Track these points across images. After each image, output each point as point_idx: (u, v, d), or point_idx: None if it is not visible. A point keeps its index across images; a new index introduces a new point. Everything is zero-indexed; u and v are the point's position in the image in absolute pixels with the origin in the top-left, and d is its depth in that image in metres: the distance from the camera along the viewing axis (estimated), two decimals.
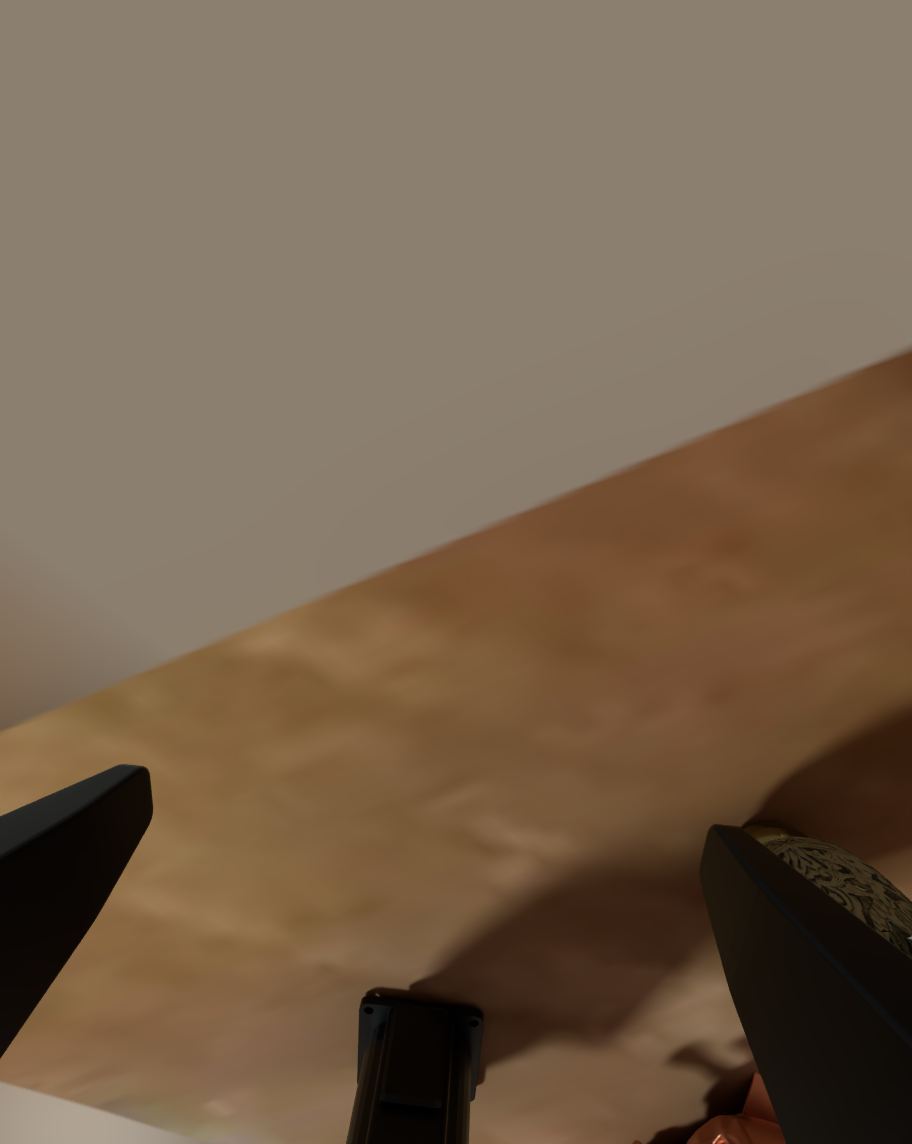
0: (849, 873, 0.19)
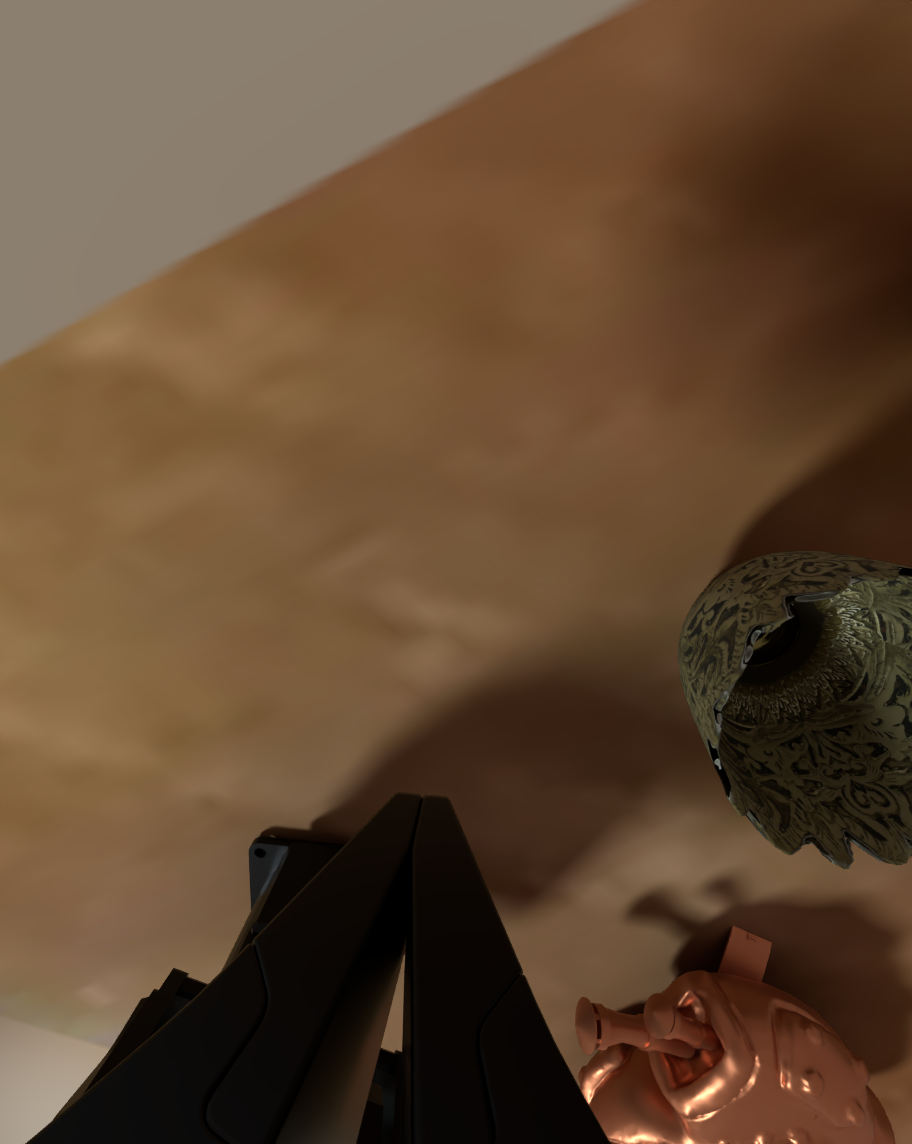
0: (842, 554, 0.14)
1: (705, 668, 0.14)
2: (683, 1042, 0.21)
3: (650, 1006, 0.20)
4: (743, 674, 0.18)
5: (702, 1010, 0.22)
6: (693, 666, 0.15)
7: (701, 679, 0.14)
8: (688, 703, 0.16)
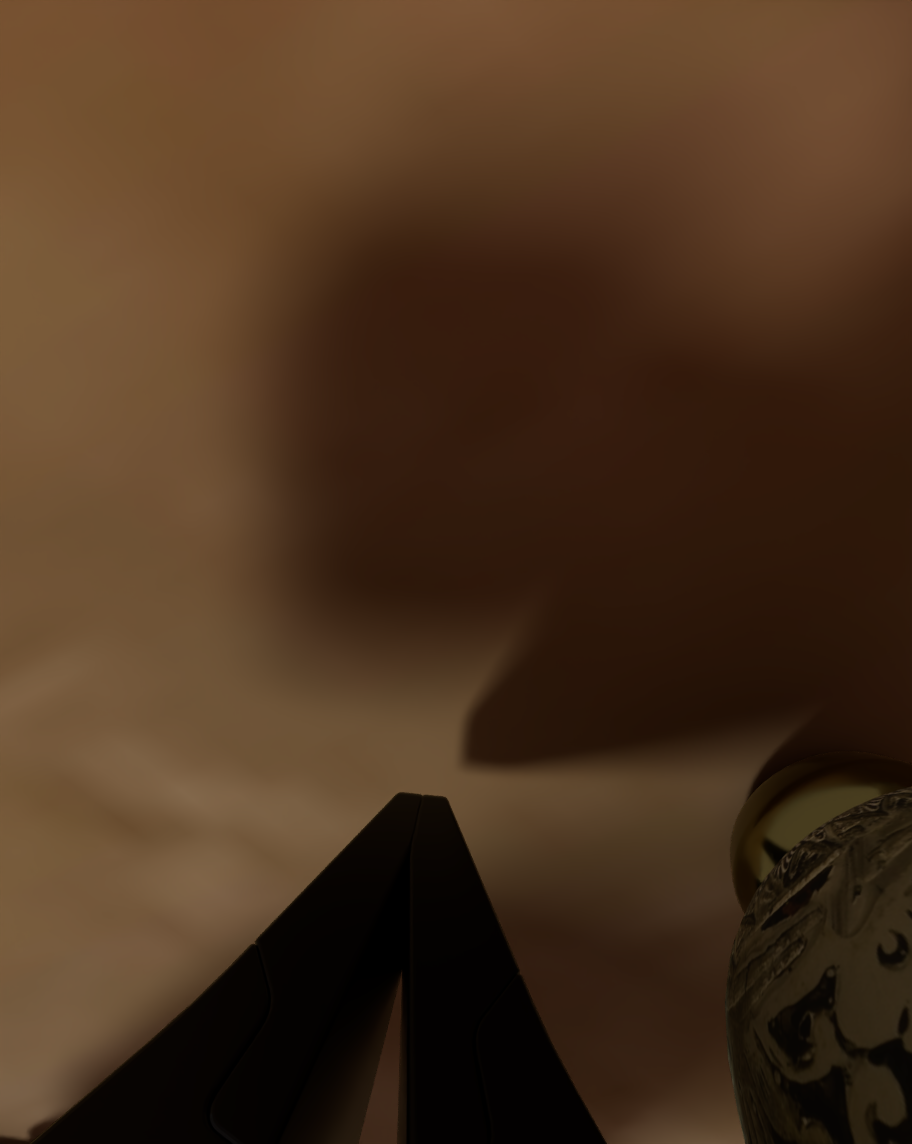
0: None
1: None
2: None
3: None
4: None
5: None
6: None
7: None
8: None
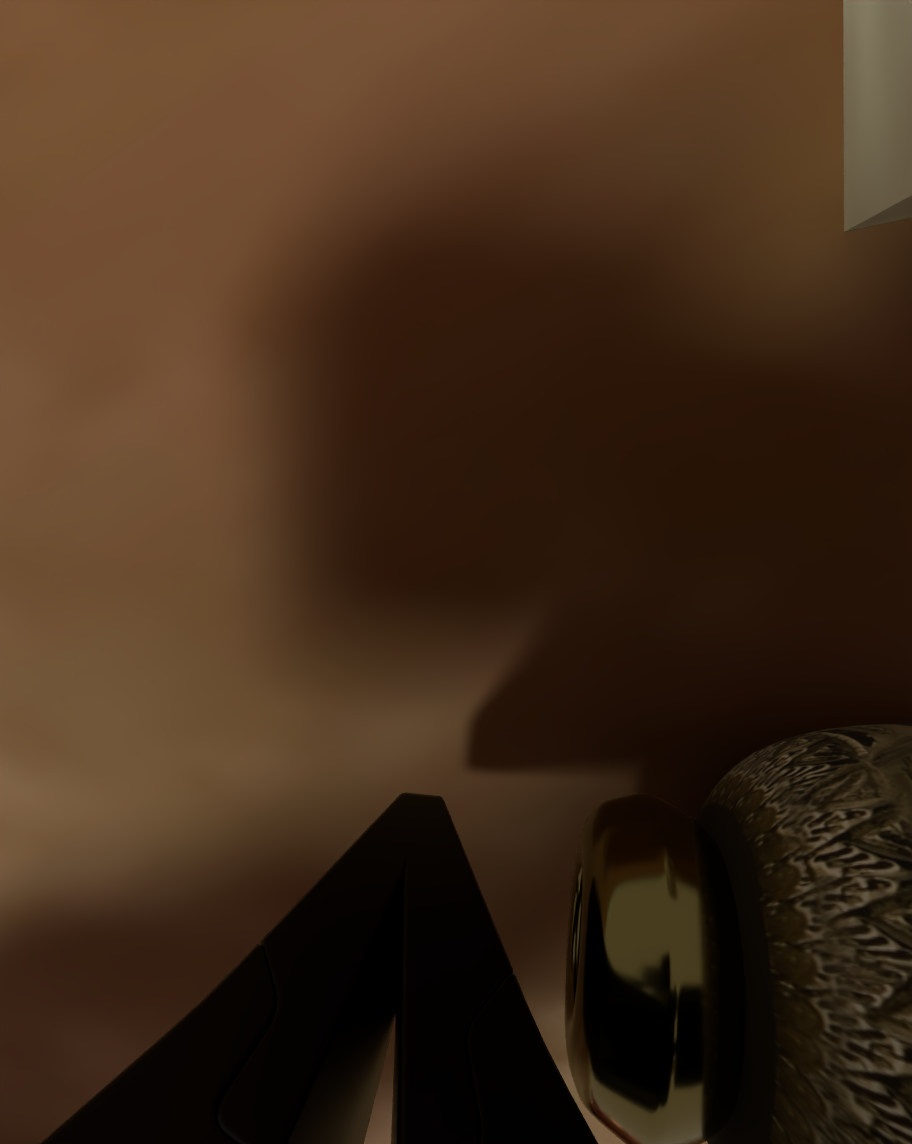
0: None
1: None
2: None
3: None
4: None
5: None
6: None
7: None
8: None
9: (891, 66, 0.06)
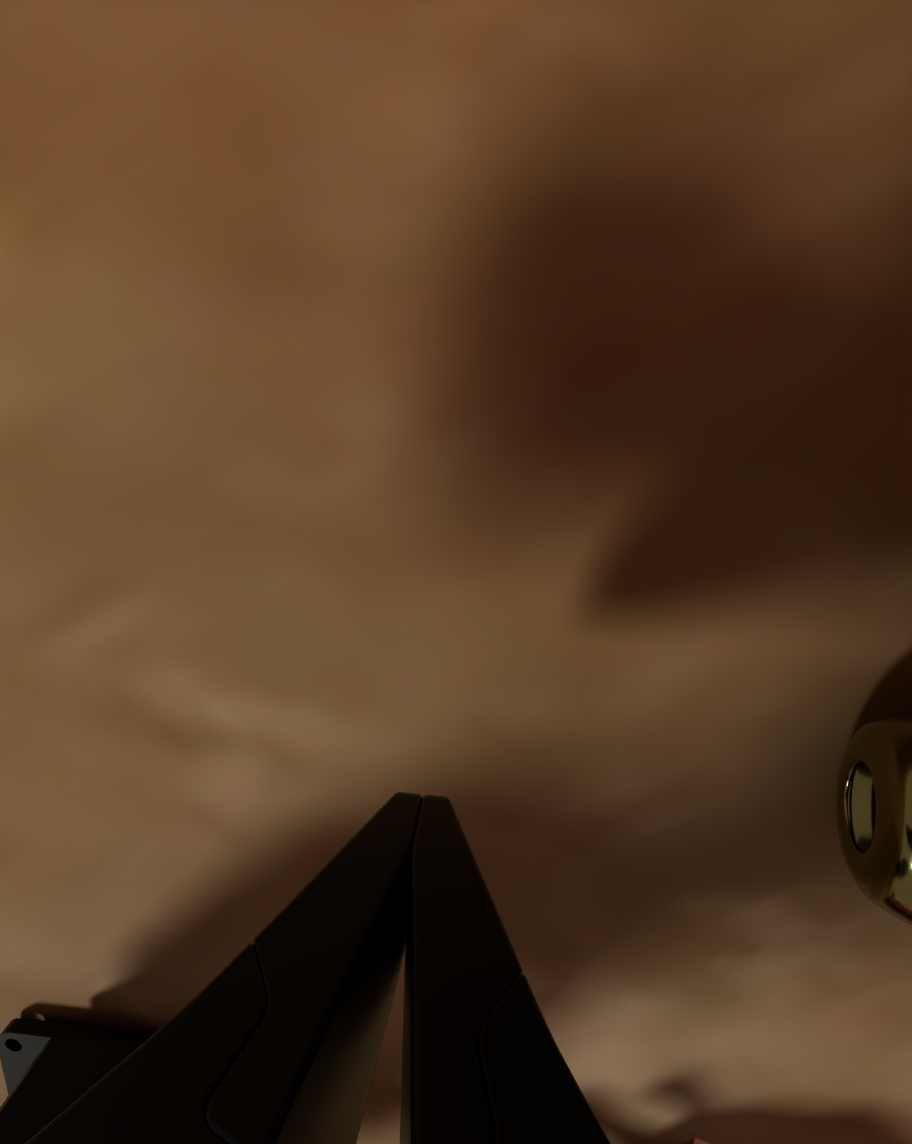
0: None
1: None
2: None
3: None
4: None
5: None
6: None
7: None
8: None
9: None
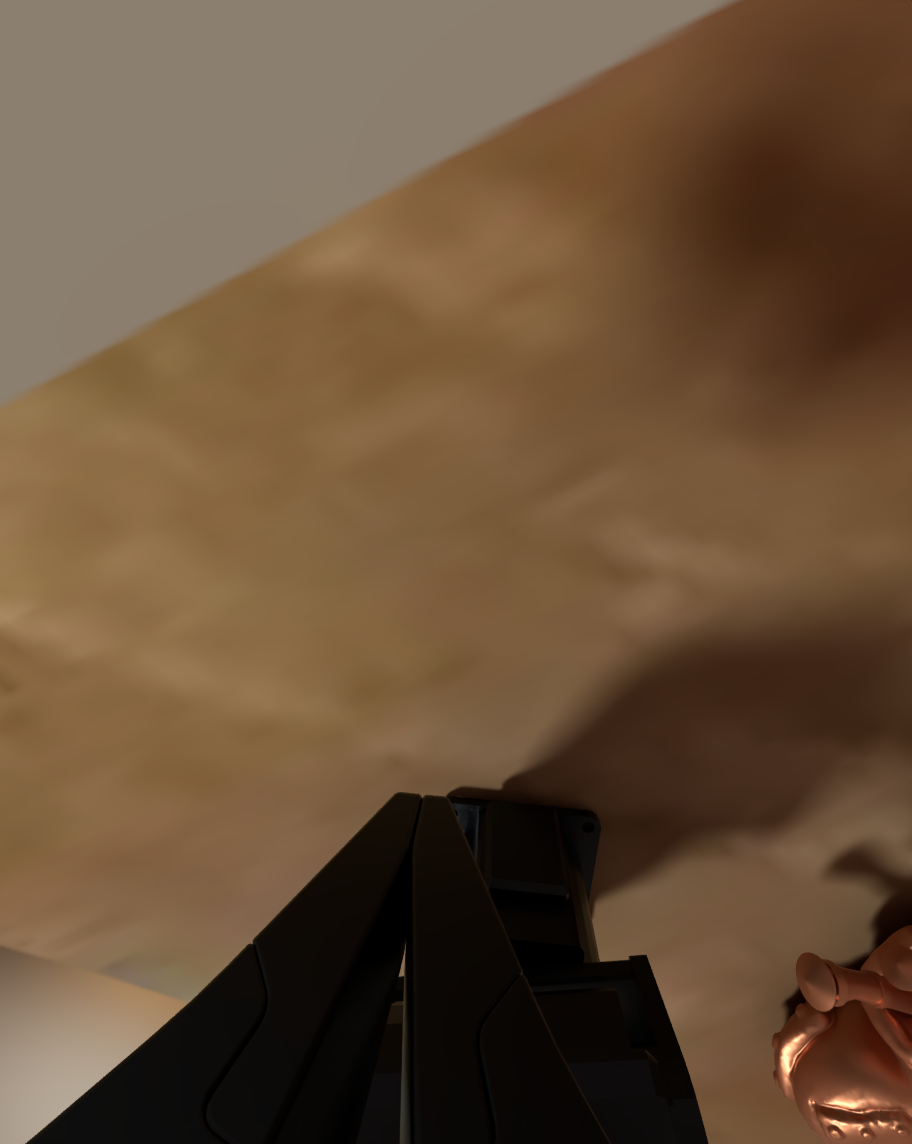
0: None
1: None
2: None
3: (891, 958, 0.19)
4: None
5: None
6: None
7: None
8: None
9: None
